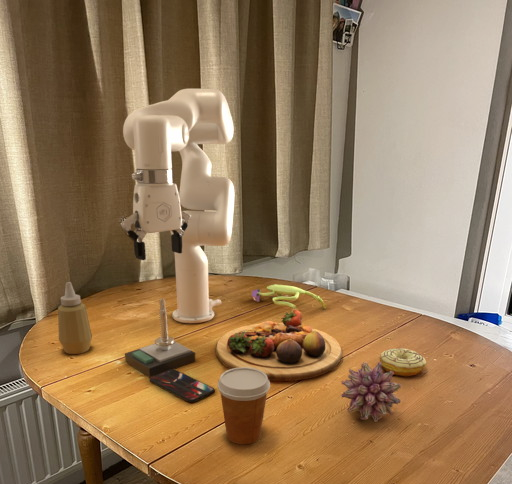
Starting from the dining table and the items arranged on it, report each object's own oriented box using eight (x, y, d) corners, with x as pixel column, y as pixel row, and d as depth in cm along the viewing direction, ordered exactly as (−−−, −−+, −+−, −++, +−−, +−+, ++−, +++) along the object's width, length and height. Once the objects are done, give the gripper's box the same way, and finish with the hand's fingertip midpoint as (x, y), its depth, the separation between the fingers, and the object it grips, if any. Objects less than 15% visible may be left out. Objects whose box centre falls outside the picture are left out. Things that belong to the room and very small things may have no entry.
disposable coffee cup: (217, 421, 98) (216, 366, 93) (266, 420, 98) (267, 365, 94) (218, 451, 89) (217, 391, 84) (271, 449, 90) (273, 390, 85)
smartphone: (172, 368, 118) (216, 388, 108) (172, 370, 118) (216, 391, 108) (147, 378, 113) (191, 401, 103) (147, 381, 113) (191, 404, 103)
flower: (381, 407, 107) (414, 426, 95) (329, 413, 103) (357, 433, 92) (383, 354, 105) (416, 367, 93) (330, 358, 101) (359, 372, 90)
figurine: (282, 321, 149) (282, 303, 147) (242, 296, 171) (242, 280, 169) (332, 311, 157) (333, 295, 155) (288, 288, 179) (288, 273, 177)
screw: (178, 346, 124) (169, 354, 119) (161, 343, 125) (151, 351, 121) (176, 296, 119) (166, 302, 115) (158, 294, 120) (147, 300, 116)
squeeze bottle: (83, 358, 124) (74, 288, 117) (54, 355, 125) (43, 286, 119) (99, 345, 131) (92, 279, 124) (71, 342, 133) (62, 277, 126)
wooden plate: (262, 321, 148) (263, 295, 145) (362, 348, 131) (365, 319, 128) (189, 358, 124) (188, 327, 121) (300, 397, 107) (302, 362, 104)
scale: (169, 347, 130) (169, 336, 129) (195, 361, 123) (195, 349, 122) (125, 362, 122) (124, 350, 121) (149, 377, 114) (148, 365, 113)
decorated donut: (432, 368, 121) (434, 354, 120) (411, 383, 114) (414, 368, 112) (393, 355, 127) (394, 341, 126) (371, 368, 120) (373, 354, 119)
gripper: (127, 181, 99) (134, 265, 106) (197, 176, 110) (199, 252, 117) (109, 178, 104) (116, 258, 111) (177, 174, 115) (180, 247, 122)
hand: (159, 255), depth 114 cm, fingers open, 9 cm apart
